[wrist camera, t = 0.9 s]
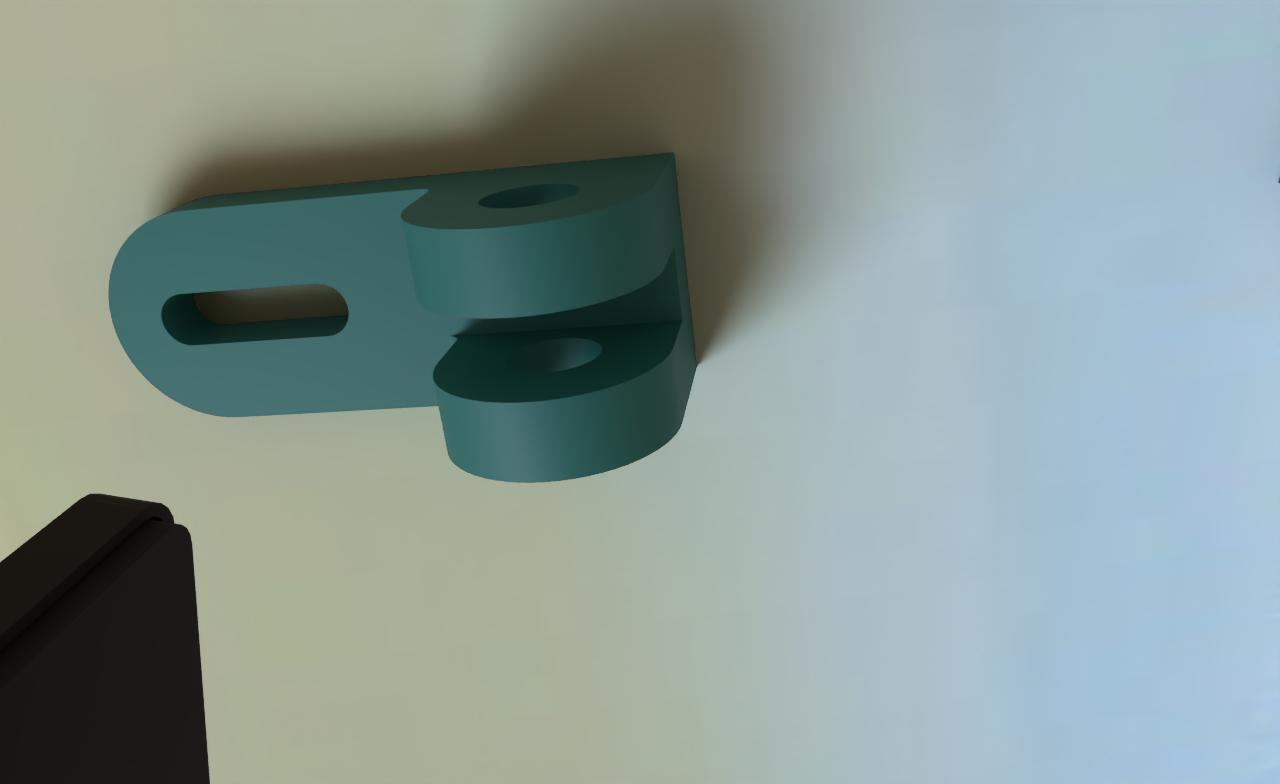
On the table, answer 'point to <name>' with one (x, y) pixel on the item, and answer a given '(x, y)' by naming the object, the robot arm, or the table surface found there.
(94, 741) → the robot arm
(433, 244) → the bracket
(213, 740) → the table surface
